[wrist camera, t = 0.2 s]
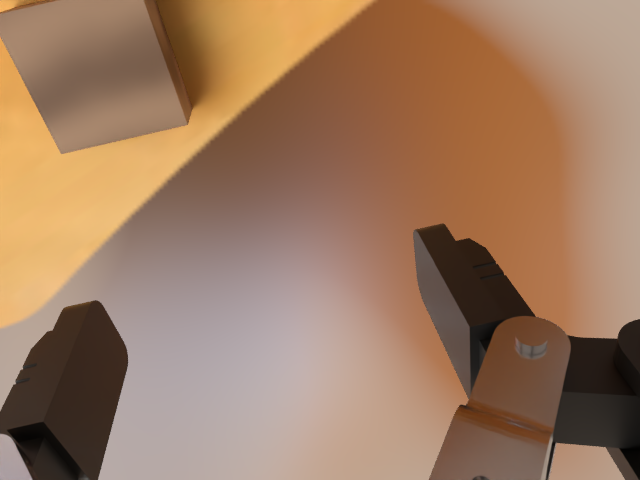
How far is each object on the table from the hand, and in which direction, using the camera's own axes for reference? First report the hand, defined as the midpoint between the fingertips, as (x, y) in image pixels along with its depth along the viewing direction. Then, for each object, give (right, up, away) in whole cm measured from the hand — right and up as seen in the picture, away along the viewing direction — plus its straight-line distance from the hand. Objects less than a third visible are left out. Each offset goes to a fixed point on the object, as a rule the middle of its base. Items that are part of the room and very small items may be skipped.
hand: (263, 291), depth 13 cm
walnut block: (-13, +14, +23) cm, 30 cm away
